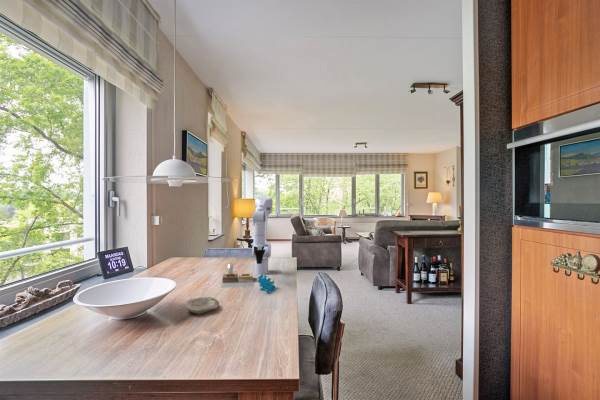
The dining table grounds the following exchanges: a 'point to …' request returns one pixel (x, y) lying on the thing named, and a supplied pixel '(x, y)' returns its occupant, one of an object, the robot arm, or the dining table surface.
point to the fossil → (201, 305)
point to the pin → (230, 270)
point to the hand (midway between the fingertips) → (258, 262)
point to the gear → (266, 284)
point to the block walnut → (230, 278)
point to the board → (238, 284)
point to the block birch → (245, 277)
